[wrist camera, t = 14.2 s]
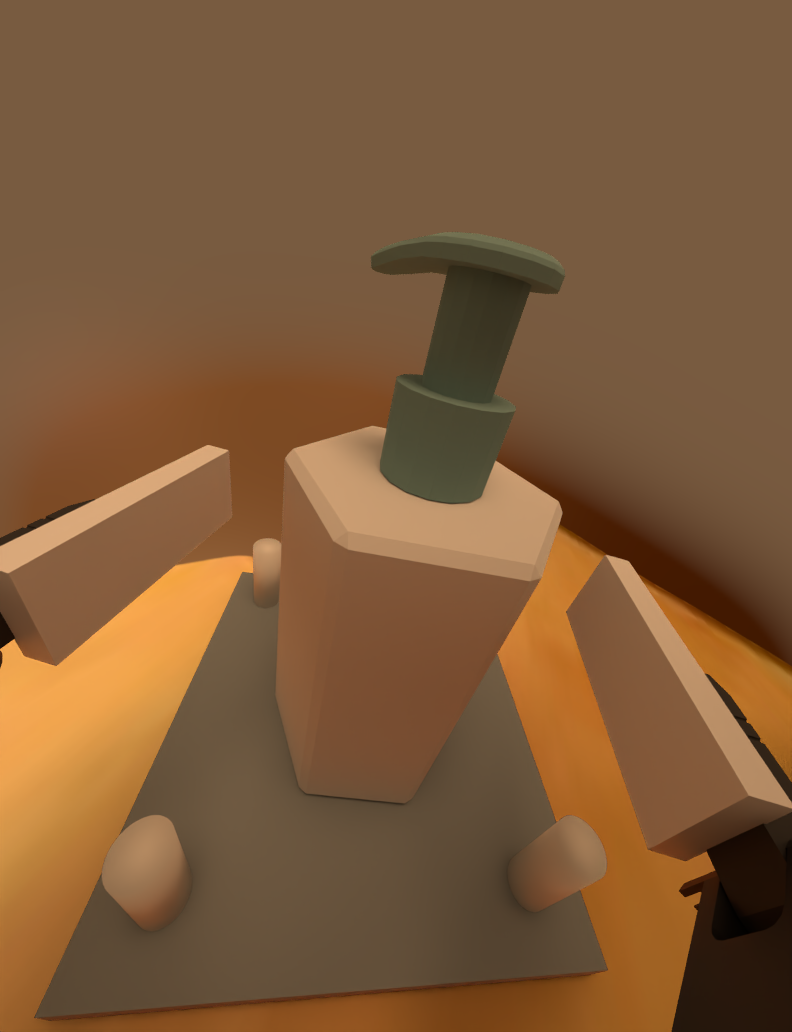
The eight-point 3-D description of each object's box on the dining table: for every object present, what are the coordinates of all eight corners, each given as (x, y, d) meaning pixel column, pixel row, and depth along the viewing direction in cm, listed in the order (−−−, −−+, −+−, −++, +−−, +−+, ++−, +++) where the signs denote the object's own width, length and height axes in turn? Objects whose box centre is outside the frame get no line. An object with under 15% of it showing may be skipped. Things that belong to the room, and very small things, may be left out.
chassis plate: (472, 609, 31) (498, 555, 28) (589, 974, 14) (690, 949, 11) (242, 585, 28) (240, 520, 25) (49, 1020, 11) (-42, 1005, 8)
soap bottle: (354, 614, 26) (428, 262, 14) (463, 686, 23) (668, 310, 11) (236, 732, 18) (193, 144, 6) (380, 866, 15) (802, 196, 3)
